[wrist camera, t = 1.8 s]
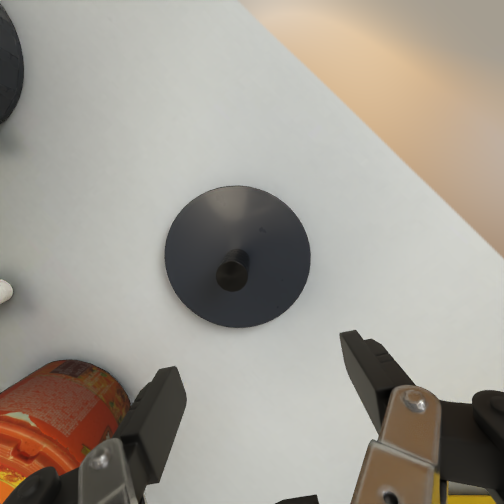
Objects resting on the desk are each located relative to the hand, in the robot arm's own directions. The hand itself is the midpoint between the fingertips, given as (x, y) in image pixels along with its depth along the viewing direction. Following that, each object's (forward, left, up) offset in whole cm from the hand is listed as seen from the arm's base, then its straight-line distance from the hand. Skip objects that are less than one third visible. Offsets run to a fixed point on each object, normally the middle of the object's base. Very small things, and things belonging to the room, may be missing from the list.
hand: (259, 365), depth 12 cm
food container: (+27, +4, -15) cm, 31 cm away
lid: (+1, -3, -14) cm, 14 cm away
